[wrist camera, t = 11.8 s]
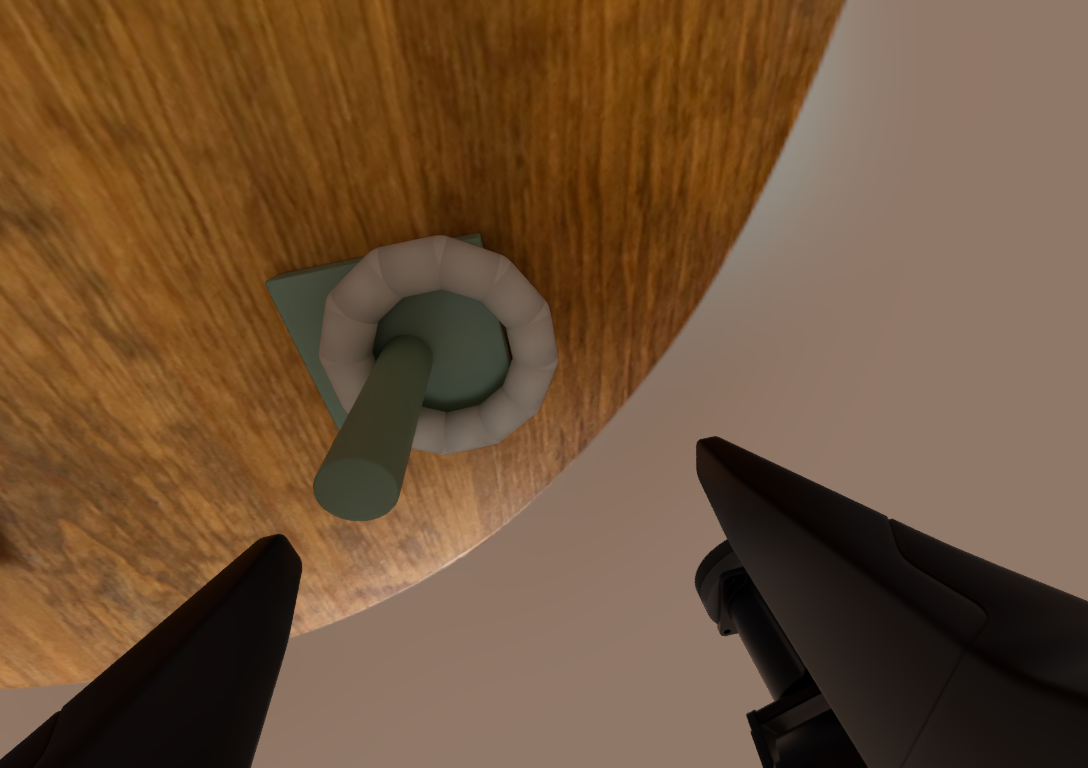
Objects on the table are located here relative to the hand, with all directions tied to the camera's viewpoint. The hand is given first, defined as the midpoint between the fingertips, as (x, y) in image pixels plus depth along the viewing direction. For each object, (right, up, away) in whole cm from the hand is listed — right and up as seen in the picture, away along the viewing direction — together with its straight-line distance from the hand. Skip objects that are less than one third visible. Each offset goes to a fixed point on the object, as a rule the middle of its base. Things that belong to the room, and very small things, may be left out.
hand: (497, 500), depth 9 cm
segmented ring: (-3, +4, +7) cm, 9 cm away
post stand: (-5, +4, +9) cm, 11 cm away
